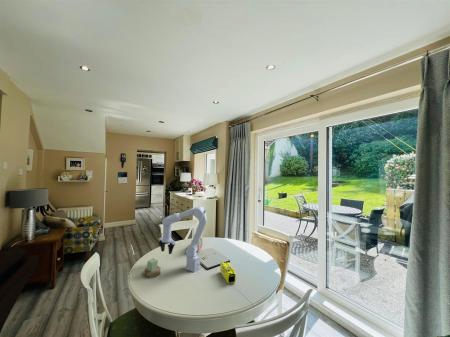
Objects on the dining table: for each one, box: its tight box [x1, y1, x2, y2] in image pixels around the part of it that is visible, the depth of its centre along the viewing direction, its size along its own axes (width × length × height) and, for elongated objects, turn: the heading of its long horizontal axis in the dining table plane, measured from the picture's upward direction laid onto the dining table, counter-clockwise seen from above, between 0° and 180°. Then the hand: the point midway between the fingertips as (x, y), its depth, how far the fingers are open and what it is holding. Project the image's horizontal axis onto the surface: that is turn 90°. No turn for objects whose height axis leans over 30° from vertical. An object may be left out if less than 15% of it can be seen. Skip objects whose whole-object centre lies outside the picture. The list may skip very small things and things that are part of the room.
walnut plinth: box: [143, 265, 161, 279], centre depth 134 cm, size 10×10×3 cm
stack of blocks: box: [190, 234, 204, 253], centre depth 176 cm, size 21×6×12 cm, turn 177°
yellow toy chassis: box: [219, 260, 237, 284], centre depth 133 cm, size 16×6×8 cm, turn 19°
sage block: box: [146, 257, 159, 272], centre depth 134 cm, size 4×4×6 cm
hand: (166, 252), depth 146 cm, fingers open, 7 cm apart
